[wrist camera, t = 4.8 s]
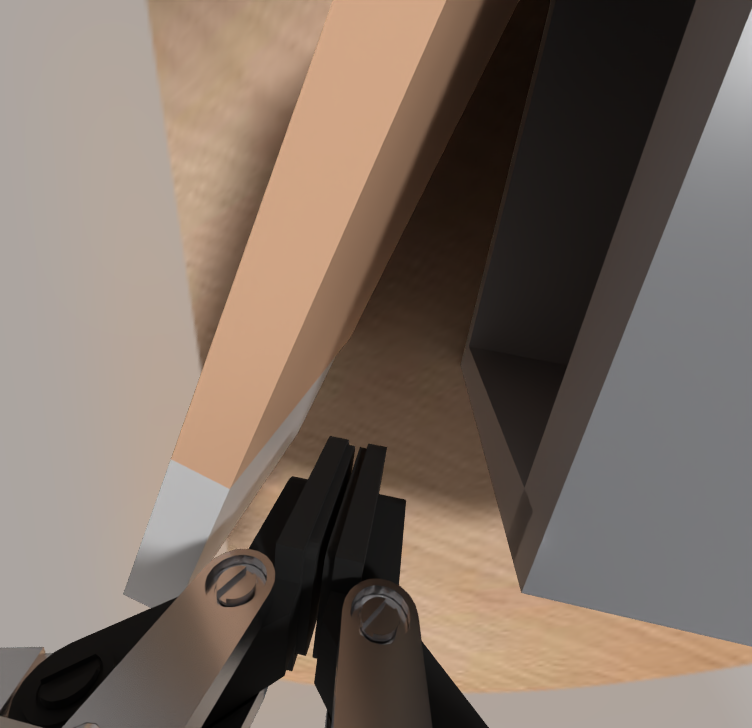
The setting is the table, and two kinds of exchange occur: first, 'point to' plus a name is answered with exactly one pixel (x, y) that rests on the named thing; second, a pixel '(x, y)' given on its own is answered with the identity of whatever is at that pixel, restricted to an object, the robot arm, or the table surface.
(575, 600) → the grey smooth box
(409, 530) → the table surface
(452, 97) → the door
